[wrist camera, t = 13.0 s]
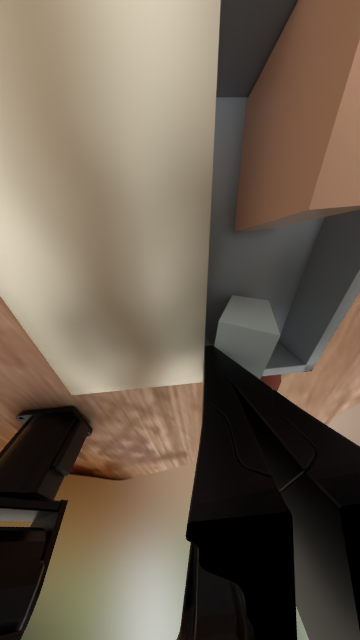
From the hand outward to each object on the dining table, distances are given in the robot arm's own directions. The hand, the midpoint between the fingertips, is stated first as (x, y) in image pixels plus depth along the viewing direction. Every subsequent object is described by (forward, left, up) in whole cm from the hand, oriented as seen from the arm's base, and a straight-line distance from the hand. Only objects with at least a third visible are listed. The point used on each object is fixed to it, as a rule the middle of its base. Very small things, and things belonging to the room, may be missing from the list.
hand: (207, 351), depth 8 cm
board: (-5, +4, -5) cm, 8 cm away
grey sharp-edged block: (+1, -1, -2) cm, 2 cm away
